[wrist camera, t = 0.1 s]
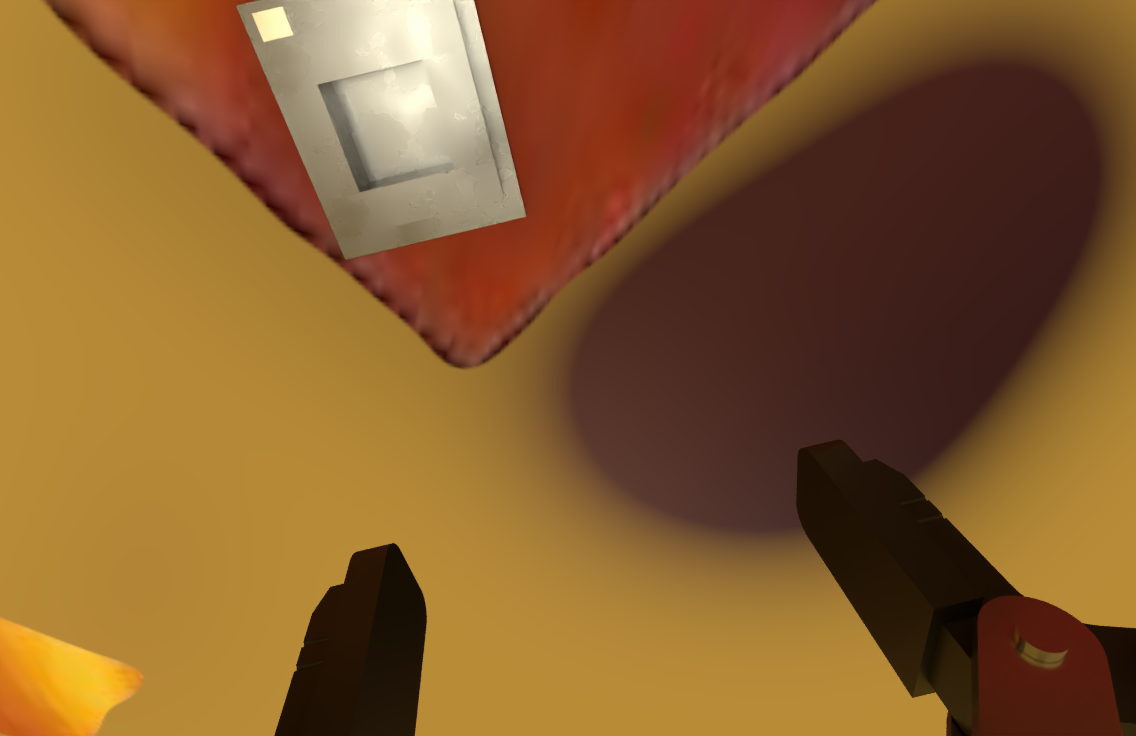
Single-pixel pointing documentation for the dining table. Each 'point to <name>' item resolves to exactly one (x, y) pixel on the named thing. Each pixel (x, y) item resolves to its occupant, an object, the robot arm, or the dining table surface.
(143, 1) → the dining table surface
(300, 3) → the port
